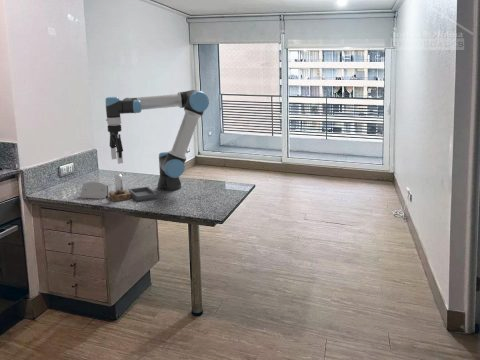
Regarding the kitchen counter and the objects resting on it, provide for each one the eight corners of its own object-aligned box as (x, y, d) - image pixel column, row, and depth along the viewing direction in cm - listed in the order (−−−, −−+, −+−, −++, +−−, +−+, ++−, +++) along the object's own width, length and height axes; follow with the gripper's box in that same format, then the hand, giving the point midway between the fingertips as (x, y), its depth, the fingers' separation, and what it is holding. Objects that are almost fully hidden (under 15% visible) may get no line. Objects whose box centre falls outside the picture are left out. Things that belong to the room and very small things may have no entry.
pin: (122, 196, 275) (120, 173, 271) (124, 198, 271) (122, 175, 268) (115, 197, 273) (114, 174, 269) (117, 199, 269) (115, 176, 266)
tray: (147, 191, 286) (147, 186, 285) (157, 198, 271) (157, 193, 270) (128, 193, 280) (128, 189, 280) (137, 201, 265) (137, 196, 264)
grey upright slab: (79, 197, 273) (80, 180, 274) (82, 197, 278) (84, 181, 279) (105, 198, 271) (106, 181, 272) (109, 199, 276) (110, 182, 276)
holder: (126, 194, 279) (125, 189, 278) (130, 198, 270) (130, 194, 269) (109, 197, 274) (109, 192, 273) (113, 201, 265) (113, 196, 265)
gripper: (102, 122, 269) (105, 158, 275) (113, 127, 248) (116, 165, 254) (115, 121, 273) (117, 156, 278) (126, 126, 252) (129, 164, 257)
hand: (117, 161), depth 266 cm, fingers open, 13 cm apart
